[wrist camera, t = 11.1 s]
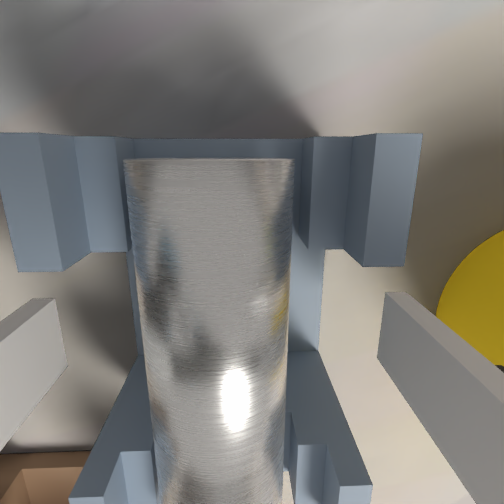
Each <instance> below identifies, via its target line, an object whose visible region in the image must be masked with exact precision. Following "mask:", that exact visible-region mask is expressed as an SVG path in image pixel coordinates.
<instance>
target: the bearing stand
mask: <svg viewBox="0 0 504 504" xmlns="http://www.w3.org/2000/svg"><path fill="white" fill-rule="evenodd" d="M90 453H91V451H76V452H48V453H21V454H0V504H69V499H68V498H69V496H70V494H71V491H72V489H73V487H74V485H75V483H76V481H77V479H78V477H79V475H80V473H81V471H82V469H83V467H84V465H85V463H86V461H87V459H88V457H89V455H90Z"/></svg>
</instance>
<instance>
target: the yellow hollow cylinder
mask: <svg viewBox="0 0 504 504" xmlns="http://www.w3.org/2000/svg"><path fill="white" fill-rule="evenodd" d="M436 317H437V318H438V319H439V320H441V321H442V322H443V323H444V324H445V325H447V326H448V327H449V328H450V329H452V330H453V331H454V332H455V333H456V334H458V335H459V336H460V337H461V338H462V339H464V340H465V341H466V342H467V343H468V344H470V345H471V346H472V347H473V348H474V349H476V350H477V351H478V352H479V353H481V354H482V355H483V356H484V357H485V358H487V359H488V360H489V361H490V362H491V363H493V364H494V365H502V366H504V230H503V231H501V232H499V233H497V234H495V235H493V236H492V237H490V238H489V239H487V240H486V241H484V242H483V243H482V244H480V245H479V246H478V247H476V248H475V249H474V250H473V251H472V252H471V253H470V254H469V255H468V256H467V257H466V258H465V259H464V260H463V261H462V262H461V263H460V264H459V266H458V267H457V268H456V269H455V271H454V272H453V274H452V275H451V277H450V278H449V280H448V282H447V283H446V285H445V287H444V289H443V292H442V294H441V297H440V299H439V303H438V306H437V311H436Z"/></svg>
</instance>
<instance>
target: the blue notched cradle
mask: <svg viewBox="0 0 504 504" xmlns="http://www.w3.org/2000/svg"><path fill="white" fill-rule="evenodd" d="M422 137H423V134H418V133H376V134H369V135H361V136H354V137H310V138H305V139H132V138H124V137H116V136H66V135H56V134H46V133H0V192H1V197H2V201H3V206H4V210H5V215H6V219H7V224H8V229H9V233H10V238H11V242H12V247H13V251H14V256H15V260H16V265H17V269H18V272H58V271H64V270H66V269H67V268H69V267H70V266H72V265H73V264H75V263H76V262H77V261H79V260H80V259H82V258H83V257H85V256H86V255H88V254H89V253H91V252H126V258H127V266H128V275H129V283H130V292H131V300H132V309H133V317H134V326H135V334H136V343H137V351H138V356H137V358H136V361H135V363H134V365H133V367H132V369H131V371H130V373H129V375H128V377H127V379H126V381H125V383H124V385H123V387H122V389H121V391H120V393H119V395H118V397H117V399H116V401H115V403H114V406H113V408H112V410H111V412H110V414H109V416H108V418H107V420H106V422H105V424H104V426H103V428H102V430H101V432H100V434H99V436H98V438H97V440H96V442H95V444H94V446H93V448H92V451H91V453H90V455H89V457H88V459H87V461H86V463H85V465H84V467H83V469H82V471H81V473H80V475H79V477H78V479H77V481H76V483H75V485H74V487H73V489H72V491H71V494H70V496H69V498H68V499H69V504H160V495H159V486H158V477H157V467H156V458H155V449H154V440H153V431H152V422H151V413H150V404H149V395H148V385H147V376H146V367H145V358H144V349H143V340H142V331H141V322H140V313H139V304H138V294H137V285H136V276H135V267H134V258H133V249H132V240H131V231H130V222H129V212H128V203H127V194H126V185H125V176H124V167H123V159H136V158H288V159H295V164H294V191H293V218H292V244H291V271H290V298H289V325H288V352H287V379H286V405H285V432H284V459H283V471H289V475H290V481H291V488H292V494H293V500H294V504H370V501H371V494H372V487H373V484H372V482H371V479H370V477H369V475H368V472H367V470H366V467H365V465H364V462H363V460H362V457H361V455H360V452H359V450H358V447H357V445H356V443H355V440H354V438H353V435H352V433H351V430H350V428H349V425H348V423H347V420H346V418H345V416H344V413H343V411H342V408H341V406H340V403H339V401H338V398H337V396H336V393H335V391H334V389H333V386H332V384H331V381H330V379H329V376H328V374H327V371H326V369H325V366H324V364H323V362H322V359H321V357H320V354H319V352H318V346H319V331H320V316H321V301H322V286H323V271H324V257H325V249H344V250H345V251H346V252H347V253H348V254H349V255H350V256H352V257H353V258H354V259H355V260H356V261H357V262H358V263H359V264H360V265H361V266H362V267H394V266H404V263H405V256H406V249H407V242H408V235H409V228H410V221H411V214H412V207H413V200H414V193H415V186H416V179H417V172H418V165H419V158H420V151H421V144H422Z"/></svg>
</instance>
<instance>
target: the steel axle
mask: <svg viewBox="0 0 504 504" xmlns="http://www.w3.org/2000/svg"><path fill="white" fill-rule="evenodd" d="M294 164H295V159H288V158H136V159H123V167H124V176H125V185H126V194H127V203H128V212H129V222H130V231H131V240H132V249H133V258H134V267H135V276H136V285H137V294H138V304H139V313H140V322H141V331H142V340H143V349H144V358H145V367H146V376H147V385H148V395H149V404H150V413H151V422H152V431H153V440H154V449H155V458H156V467H157V477H158V486H159V495H160V504H282V486H283V459H284V432H285V405H286V379H287V352H288V325H289V298H290V271H291V244H292V218H293V191H294Z"/></svg>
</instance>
